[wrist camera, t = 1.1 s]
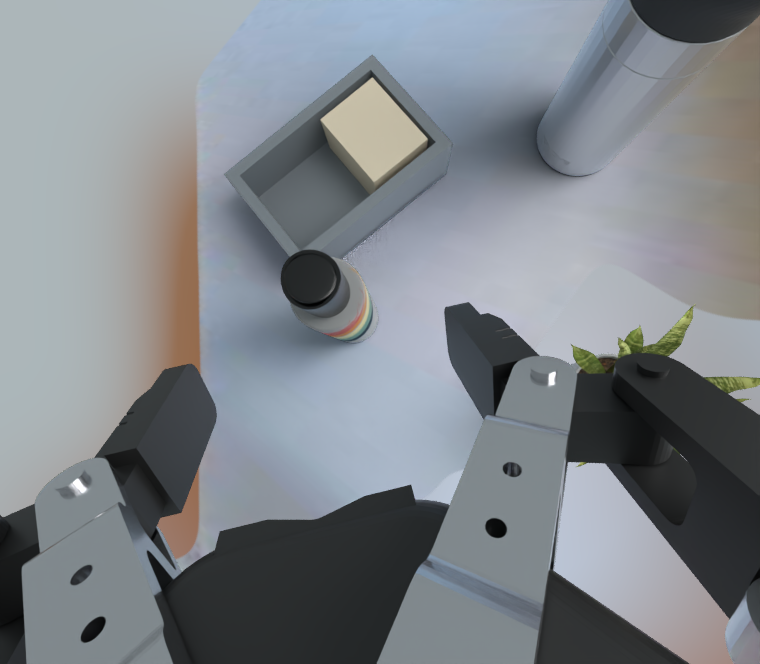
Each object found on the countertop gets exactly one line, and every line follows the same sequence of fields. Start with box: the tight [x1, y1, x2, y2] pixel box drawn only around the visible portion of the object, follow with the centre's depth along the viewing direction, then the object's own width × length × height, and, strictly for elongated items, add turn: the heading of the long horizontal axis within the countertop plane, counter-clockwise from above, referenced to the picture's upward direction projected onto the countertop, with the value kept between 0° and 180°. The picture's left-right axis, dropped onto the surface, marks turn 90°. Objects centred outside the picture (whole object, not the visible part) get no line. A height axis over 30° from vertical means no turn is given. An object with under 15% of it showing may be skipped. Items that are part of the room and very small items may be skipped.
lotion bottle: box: [281, 249, 378, 343], centre depth 32 cm, size 6×6×20 cm
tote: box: [224, 55, 453, 259], centre depth 40 cm, size 20×13×6 cm, turn 129°
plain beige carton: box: [320, 77, 428, 195], centre depth 40 cm, size 7×9×5 cm
